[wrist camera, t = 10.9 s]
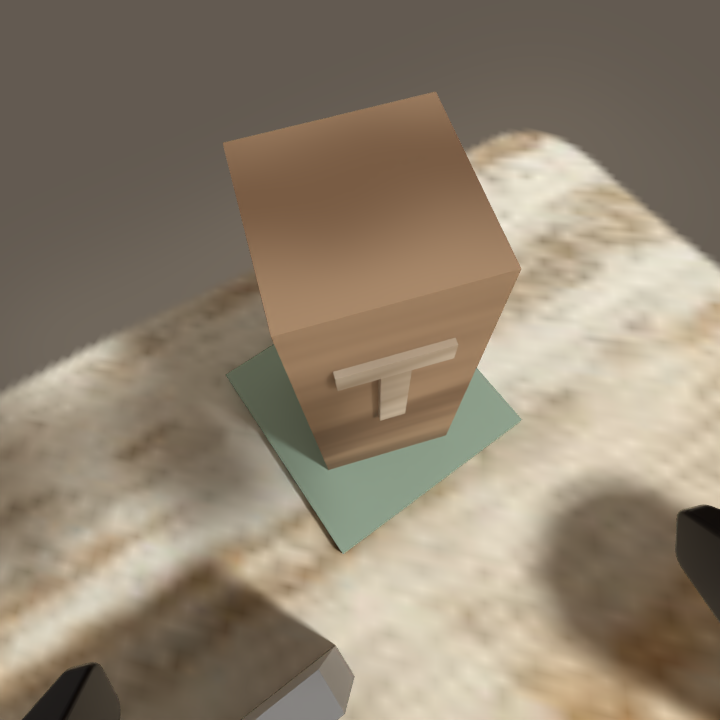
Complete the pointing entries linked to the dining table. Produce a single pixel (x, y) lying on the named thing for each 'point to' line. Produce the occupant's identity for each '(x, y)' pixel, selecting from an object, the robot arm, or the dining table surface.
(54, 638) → the dining table surface
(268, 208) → the letter block
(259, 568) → the dining table surface
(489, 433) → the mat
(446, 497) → the dining table surface
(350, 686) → the gray rectangular block
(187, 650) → the dining table surface
